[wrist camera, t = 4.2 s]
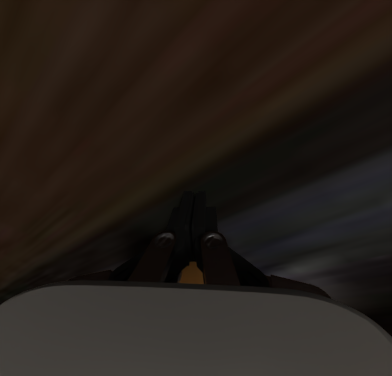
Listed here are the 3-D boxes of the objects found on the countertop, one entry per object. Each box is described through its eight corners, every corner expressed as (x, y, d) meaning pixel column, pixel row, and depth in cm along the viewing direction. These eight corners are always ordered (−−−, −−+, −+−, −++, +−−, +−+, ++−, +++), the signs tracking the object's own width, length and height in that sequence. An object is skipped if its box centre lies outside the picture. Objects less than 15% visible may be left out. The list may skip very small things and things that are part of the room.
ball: (213, 290, 19) (215, 251, 18) (222, 342, 13) (225, 291, 12) (171, 289, 18) (170, 251, 17) (161, 342, 13) (160, 291, 12)
